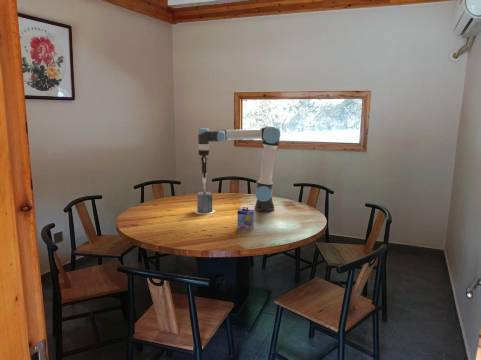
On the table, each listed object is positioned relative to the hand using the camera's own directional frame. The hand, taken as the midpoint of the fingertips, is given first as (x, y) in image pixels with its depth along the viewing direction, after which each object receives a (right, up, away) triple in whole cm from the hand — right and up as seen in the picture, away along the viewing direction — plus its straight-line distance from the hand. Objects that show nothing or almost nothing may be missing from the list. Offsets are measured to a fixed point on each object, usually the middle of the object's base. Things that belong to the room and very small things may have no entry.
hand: (204, 181), depth 272 cm
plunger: (0, -12, +2) cm, 12 cm away
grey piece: (0, -22, +6) cm, 23 cm away
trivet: (0, -23, +4) cm, 24 cm away
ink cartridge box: (+30, -31, -33) cm, 54 cm away
